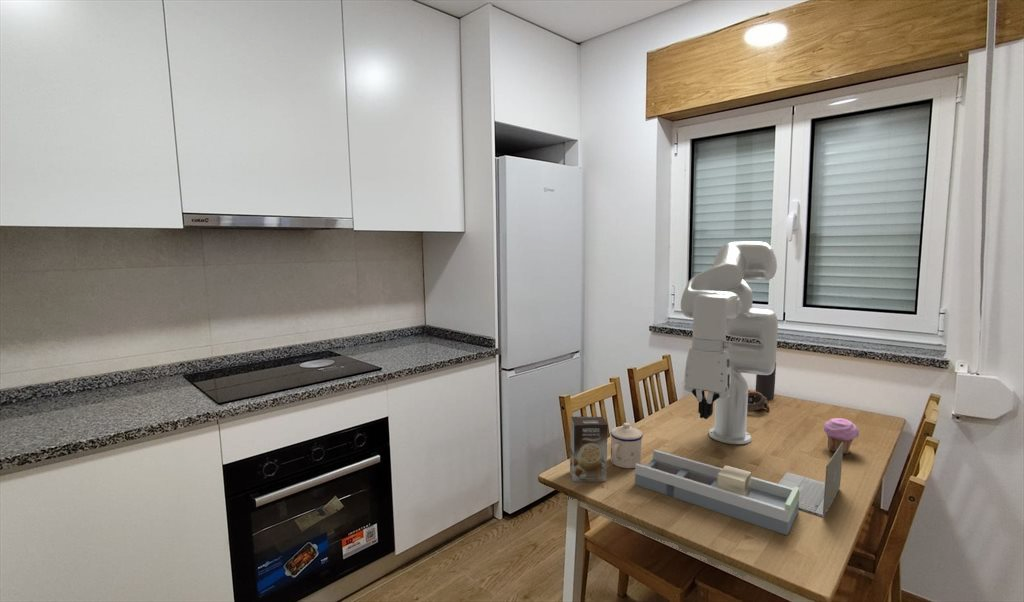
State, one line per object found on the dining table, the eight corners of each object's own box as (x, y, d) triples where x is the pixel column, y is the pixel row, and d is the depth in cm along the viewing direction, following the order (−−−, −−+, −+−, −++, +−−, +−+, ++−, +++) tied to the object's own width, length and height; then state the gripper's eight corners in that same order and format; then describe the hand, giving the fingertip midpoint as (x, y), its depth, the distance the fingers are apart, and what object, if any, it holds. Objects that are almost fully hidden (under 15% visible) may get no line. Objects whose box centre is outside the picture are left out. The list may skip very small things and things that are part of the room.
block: (724, 483, 125) (725, 465, 125) (750, 491, 121) (751, 472, 121) (716, 493, 121) (717, 474, 120) (743, 501, 117) (744, 481, 116)
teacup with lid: (619, 452, 151) (620, 415, 149) (647, 461, 145) (648, 423, 143) (598, 466, 142) (599, 427, 140) (627, 476, 136) (628, 435, 134)
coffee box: (573, 482, 133) (573, 425, 131) (569, 471, 139) (569, 416, 137) (607, 481, 133) (608, 424, 131) (602, 470, 139) (602, 415, 137)
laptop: (786, 474, 137) (789, 429, 135) (840, 489, 128) (844, 441, 127) (766, 499, 124) (769, 449, 122) (824, 518, 115) (828, 465, 114)
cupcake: (819, 450, 151) (821, 419, 149) (825, 442, 157) (827, 411, 156) (854, 459, 145) (857, 426, 143) (859, 450, 151) (862, 418, 150)
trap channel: (654, 468, 141) (654, 446, 140) (798, 511, 118) (799, 486, 117) (635, 484, 131) (635, 461, 131) (787, 535, 109) (789, 507, 108)
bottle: (758, 400, 198) (761, 350, 195) (752, 394, 204) (755, 347, 202) (776, 400, 196) (779, 351, 194) (770, 395, 203) (773, 347, 201)
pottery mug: (777, 415, 182) (771, 398, 179) (753, 426, 183) (747, 410, 180) (758, 397, 193) (752, 381, 190) (735, 407, 194) (730, 392, 191)
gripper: (745, 346, 119) (741, 419, 121) (683, 338, 129) (681, 406, 131) (736, 351, 113) (732, 428, 116) (672, 343, 123) (670, 414, 125)
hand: (705, 416), depth 123 cm, fingers closed
